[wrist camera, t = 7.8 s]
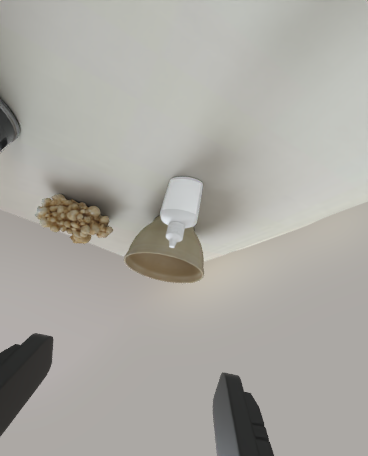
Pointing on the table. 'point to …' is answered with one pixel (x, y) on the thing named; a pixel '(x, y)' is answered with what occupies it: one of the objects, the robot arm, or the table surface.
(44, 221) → the mineral formation
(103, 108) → the table surface
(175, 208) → the eye dropper bottle
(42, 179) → the table surface
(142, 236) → the planter bowl
